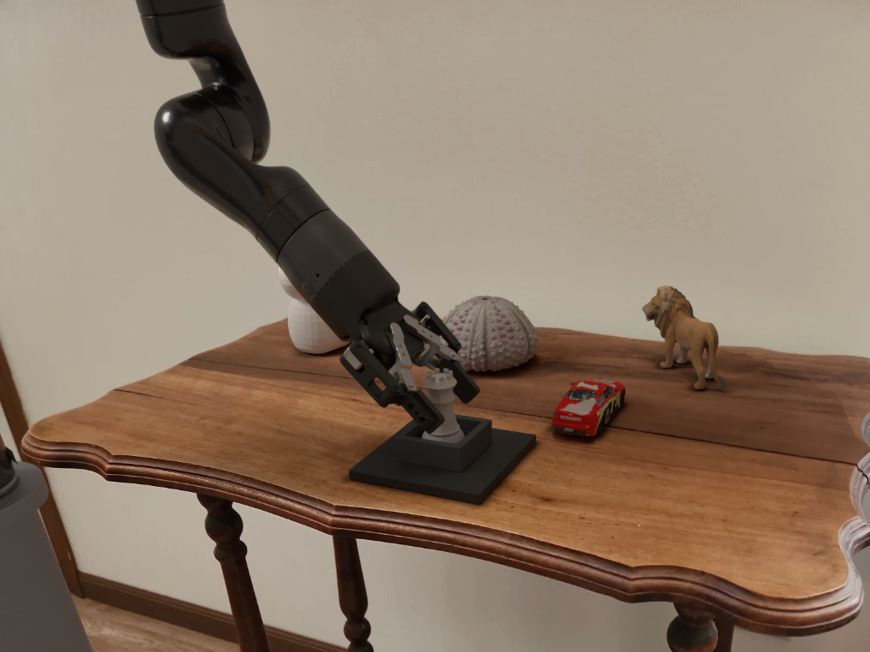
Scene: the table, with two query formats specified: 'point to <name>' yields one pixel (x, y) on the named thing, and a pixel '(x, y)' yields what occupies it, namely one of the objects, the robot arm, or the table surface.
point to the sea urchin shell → (491, 334)
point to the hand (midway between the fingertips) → (456, 412)
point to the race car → (588, 407)
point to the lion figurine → (684, 332)
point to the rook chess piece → (443, 406)
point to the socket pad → (446, 460)
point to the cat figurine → (307, 324)
